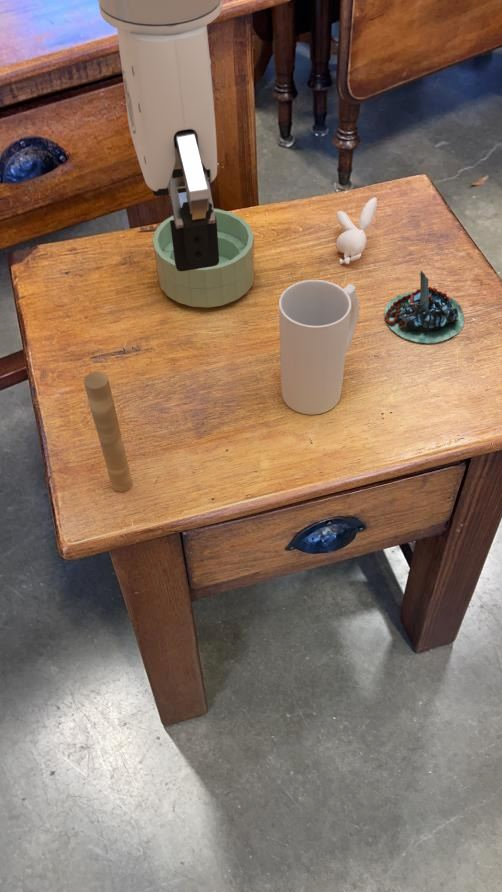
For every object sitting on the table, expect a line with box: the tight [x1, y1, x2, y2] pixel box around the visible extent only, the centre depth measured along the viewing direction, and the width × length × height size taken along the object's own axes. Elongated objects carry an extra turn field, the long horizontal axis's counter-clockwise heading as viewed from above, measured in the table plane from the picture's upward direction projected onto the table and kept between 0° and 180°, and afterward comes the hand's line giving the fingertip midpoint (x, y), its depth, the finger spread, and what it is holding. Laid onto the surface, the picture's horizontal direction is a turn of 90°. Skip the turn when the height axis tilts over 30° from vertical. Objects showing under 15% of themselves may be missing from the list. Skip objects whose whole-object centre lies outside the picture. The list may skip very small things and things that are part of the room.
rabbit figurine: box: [335, 196, 378, 266], centre depth 100 cm, size 6×4×8 cm
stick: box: [83, 371, 133, 493], centre depth 74 cm, size 2×2×14 cm
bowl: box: [152, 208, 256, 308], centre depth 95 cm, size 11×11×6 cm
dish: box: [383, 270, 465, 344], centre depth 94 cm, size 8×7×8 cm
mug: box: [278, 279, 360, 416], centre depth 83 cm, size 10×7×12 cm, turn 136°
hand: (184, 227), depth 64 cm, fingers open, 9 cm apart
